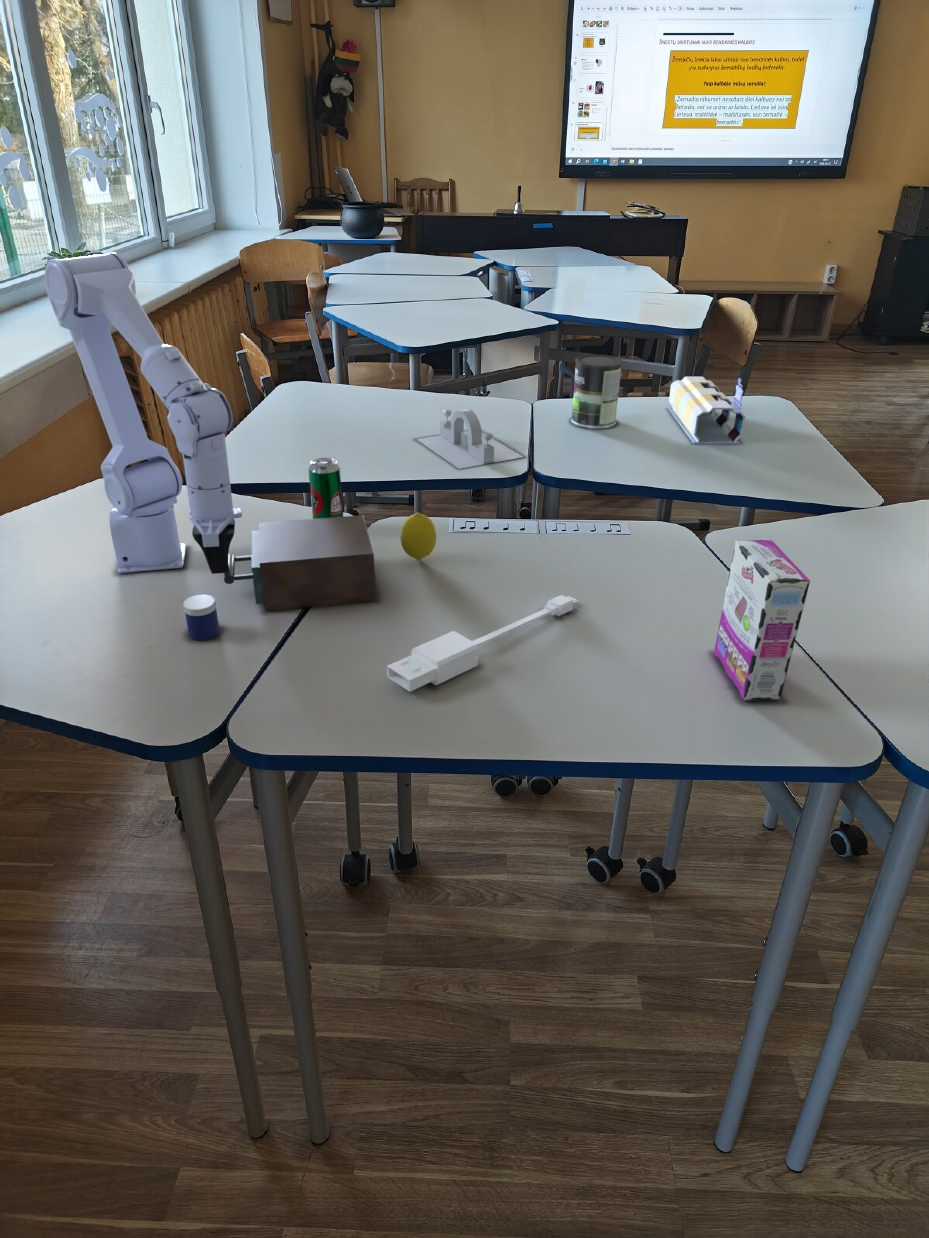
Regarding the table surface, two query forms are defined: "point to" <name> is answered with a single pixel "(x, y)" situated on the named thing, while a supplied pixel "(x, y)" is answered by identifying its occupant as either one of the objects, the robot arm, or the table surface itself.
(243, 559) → the drawer
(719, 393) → the diorama
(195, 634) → the blue jar
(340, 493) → the soda can
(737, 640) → the candy bar box
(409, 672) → the charging cable
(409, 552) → the lemon
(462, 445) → the gateway
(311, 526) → the cabinet
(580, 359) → the coffee can
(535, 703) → the table surface
